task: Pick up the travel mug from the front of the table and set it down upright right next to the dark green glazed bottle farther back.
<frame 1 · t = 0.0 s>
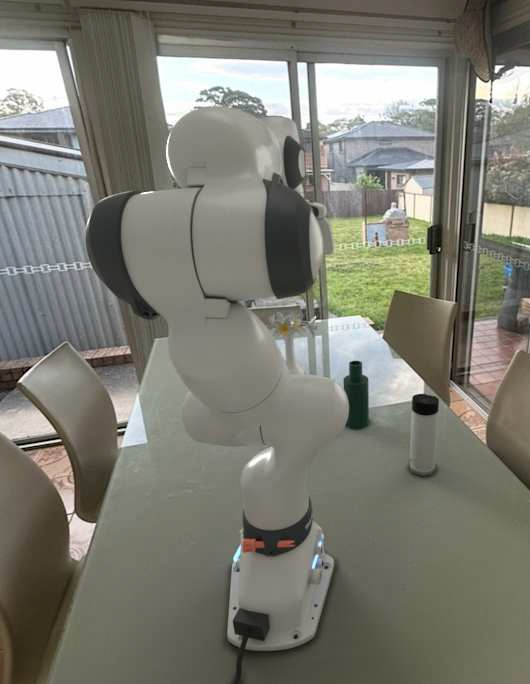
hand: (287, 276, 93), 48 cm above the table, tool pointing down, fingers open, 8 cm apart
travel mug: (422, 469, 109), on the table
flower vase: (293, 381, 154), on the table
green bottle: (356, 422, 129), on the table
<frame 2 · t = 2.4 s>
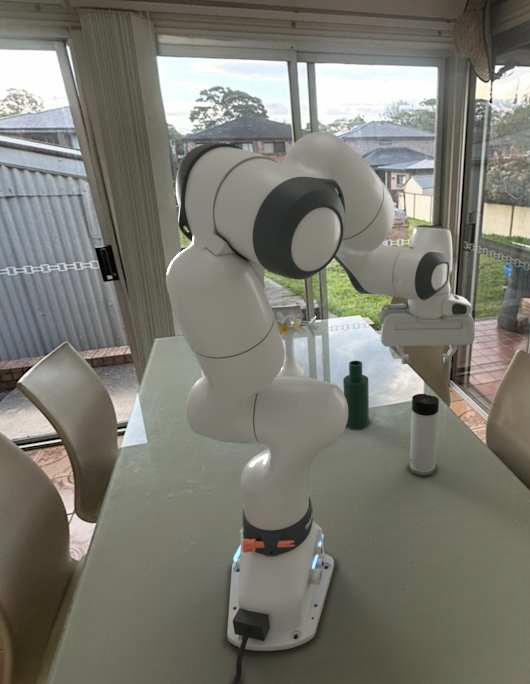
hand: (425, 362, 98), 29 cm above the table, tool pointing down, fingers open, 8 cm apart
nothing on the table moved.
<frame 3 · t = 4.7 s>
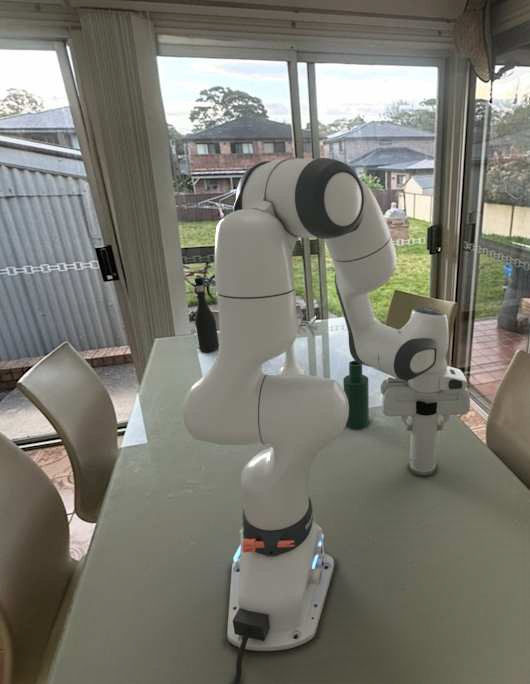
hand: (424, 429, 105), 11 cm above the table, tool pointing down, fingers closed on travel mug, 6 cm apart
travel mug: (422, 469, 109), on the table, touching gripper
everything else where it was.
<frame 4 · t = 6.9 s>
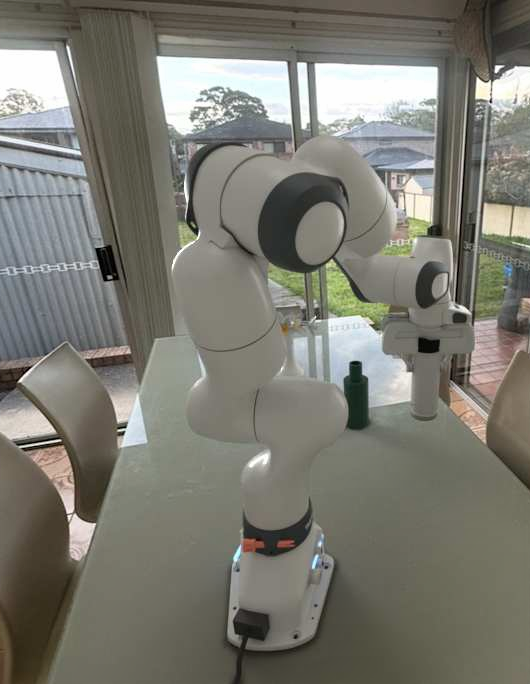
hand: (426, 371, 99), 27 cm above the table, tool pointing down, fingers closed on travel mug, 6 cm apart
travel mug: (423, 415, 103), point 15 cm above the table, touching gripper
everything else where it was.
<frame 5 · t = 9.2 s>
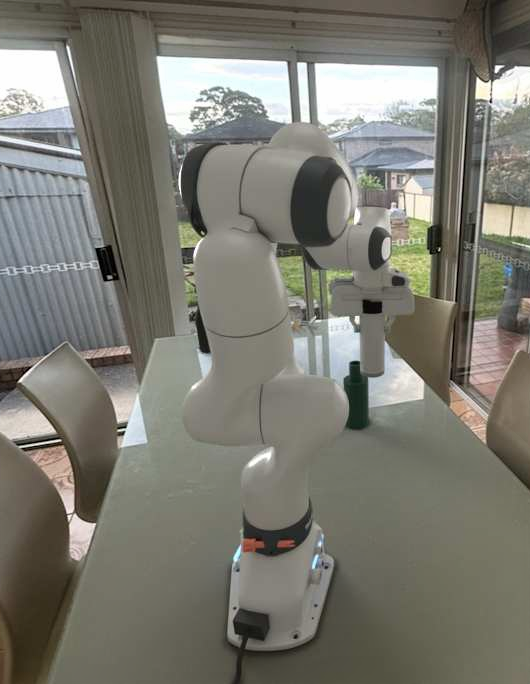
hand: (372, 331, 109), 32 cm above the table, tool pointing down, fingers closed on travel mug, 6 cm apart
travel mug: (372, 373, 113), point 20 cm above the table, touching gripper
everything else where it was.
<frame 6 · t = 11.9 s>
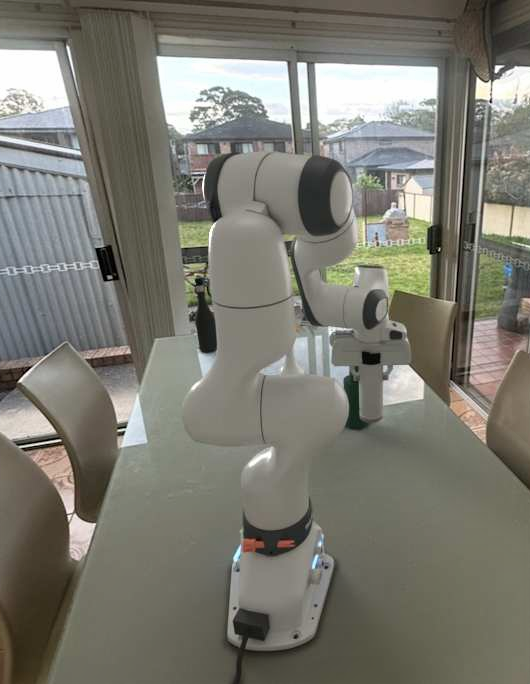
hand: (371, 379, 114), 18 cm above the table, tool pointing down, fingers closed on travel mug, 6 cm apart
travel mug: (370, 418, 118), point 7 cm above the table, touching gripper
everything else where it was.
when the fingers open (11 cm above the table, at t = 14.1 s): travel mug stays where it is, on the table.
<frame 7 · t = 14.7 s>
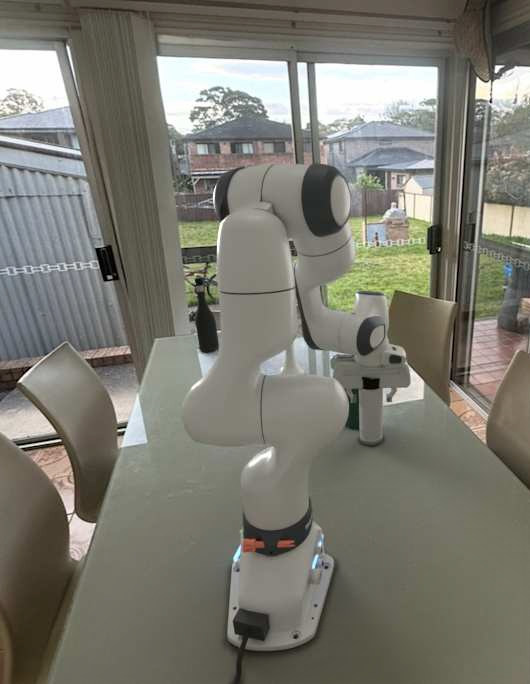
hand: (371, 401, 116), 12 cm above the table, tool pointing down, fingers open, 8 cm apart
travel mug: (370, 439, 121), on the table
everything else where it was.
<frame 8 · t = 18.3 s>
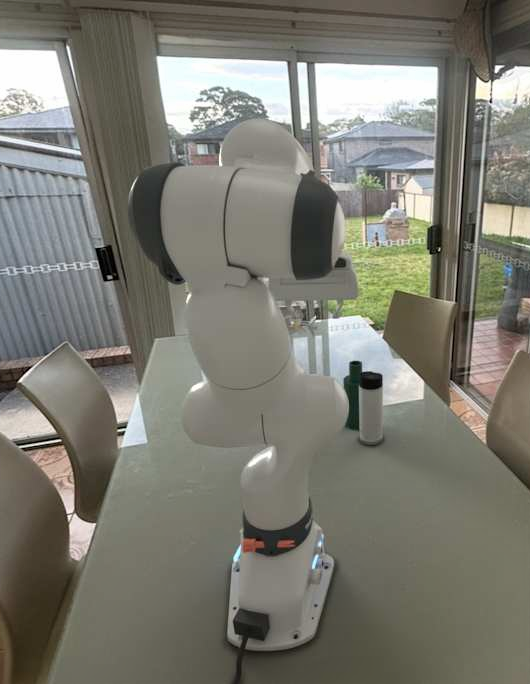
hand: (315, 318, 101), 37 cm above the table, tool pointing down, fingers open, 8 cm apart
nothing on the table moved.
at the end: travel mug 9.6 cm from the green bottle (horizontally); travel mug tilted 0°; the gripper is holding nothing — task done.
